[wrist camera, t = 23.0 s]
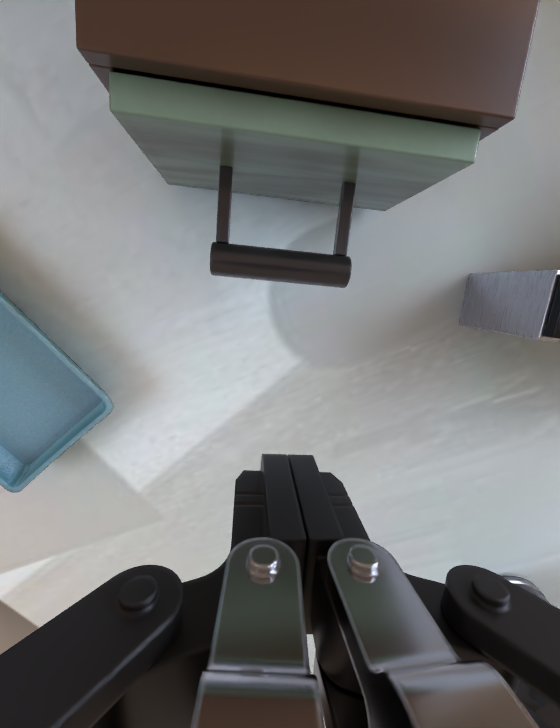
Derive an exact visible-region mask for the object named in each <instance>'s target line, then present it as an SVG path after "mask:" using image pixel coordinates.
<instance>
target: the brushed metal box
mask: <svg viewBox="0 0 560 728" xmlns="http://www.w3.org/2000/svg"><path fill="white" fill-rule="evenodd" d="M459 325H463V326H469V327H474V328H479V329H484V330H490V331H495V332H500V333H506V334H511V335H516V336H522V337H527V338H532V339H537V340H547V341H559V342H560V270H558V269H555V270H534V271H514V272H493V273H473V274H469V278H468V283H467V288H466V293H465V298H464V302H463V307H462V312H461V317H460V322H459Z"/></svg>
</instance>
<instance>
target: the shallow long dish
mask: <svg viewBox="0 0 560 728" xmlns="http://www.w3.org/2000/svg"><path fill="white" fill-rule="evenodd" d="M113 407H114V405H113V403H112V401H111V399H110V398H109V397H108V395H107V394H106V393H105V392H104V391H103V390H102V389H101V388H100V387H99V386H98V385H97V384H96V383H95V382H94V381H93V380H92V379H90V378H89V377H88V376H87V375H86V374H85V373H84V372H83V371H82V370H81V369H80V368H79V367H78V366H77V365H76V364H75V363H74V362H73V361H72V360H71V359H70V358H69V357H68V356H67V355H66V354H65V353H64V352H63V351H62V350H61V349H60V348H59V347H58V346H57V345H56V344H55V343H54V342H52V341H51V340H50V339H49V338H48V337H47V336H46V335H45V334H44V333H43V332H42V331H41V330H40V329H39V328H38V327H37V326H36V325H35V324H34V323H33V322H32V321H31V320H30V319H29V318H28V317H27V316H26V315H24V314H23V313H22V312H21V311H20V310H19V309H18V308H17V307H16V306H15V305H14V304H13V303H12V302H11V301H10V300H9V299H8V298H7V297H6V296H5V295H4V294H3V293H2V292H1V291H0V485H2V486H3V487H4V488H5V489H6V490H8V491H10V492H19V491H21V490H22V489H23V488H24V487H26V486H27V485H28V484H29V483H30V482H31V481H32V480H33V479H35V478H36V476H37V475H39V474H40V473H41V472H42V471H43V470H44V469H45V468H47V467H48V466H49V465H50V464H51V463H52V462H53V461H54V460H55V459H56V458H58V457H59V456H60V455H61V454H62V453H63V452H65V451H66V450H67V449H68V448H69V447H70V446H71V445H72V444H74V443H75V442H76V441H77V440H78V439H79V438H81V437H82V436H83V435H84V434H85V433H86V432H88V431H89V430H90V429H92V428H93V427H94V426H95V425H96V424H97V423H99V422H100V421H101V420H102V419H104V418H105V417H106V416H107V415H108V414H110V412H111V411H112V409H113Z"/></svg>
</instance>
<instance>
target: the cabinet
mask: <svg viewBox="0 0 560 728" xmlns="http://www.w3.org/2000/svg"><path fill="white" fill-rule="evenodd" d="M539 2H540V0H75V14H76V44H77V49H78V50H79V52H80V53H81V54H82V56H83V57H84V59H85V60H86V61H87V62H88V63H89V66H90V67H91V68H92V70H93V71H94V72H95V74H96V75H97V77H98V78H99V79H100V81H101V82H102V84H103V85H104V86H105V88H106V89H107V91H108V92H109V72H111V71H112V72H118V73H125V74H131V75H138V76H144V77H150V78H154V76H153V74H159V75H165V76H172V77H178V78H184V79H191V80H197V81H203V82H210V83H216V84H222V85H229V86H235V87H241V88H248V89H254V90H260V91H267V92H273V93H279V94H286V95H292V96H298V97H305V98H311V99H317V100H324V101H330V102H336V103H343V104H349V105H355V106H362V107H368V108H374V109H381V110H387V111H393V112H400V113H406V114H412V115H419V116H425V117H431V118H434V119H433V120H432V121H431V122H438V123H444V124H451V125H457V126H463V127H470V128H476V129H480V130H481V133H480V138H479V141H480V140H482V139H483V138H485V137H487V136H488V135H490V134H491V133H493V132H495V131H496V130H498V129H499V128H500V127H502V126H504V125H505V124H507V123H509V122H510V121H512V120H513V119H514V118H515V115H516V110H517V105H518V101H519V96H520V91H521V86H522V82H523V77H524V72H525V68H526V63H527V58H528V54H529V49H530V44H531V40H532V35H533V30H534V26H535V21H536V16H537V12H538V7H539ZM152 73H153V74H152Z"/></svg>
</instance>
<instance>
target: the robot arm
mask: <svg viewBox="0 0 560 728" xmlns="http://www.w3.org/2000/svg"><path fill="white" fill-rule="evenodd" d="M306 634H313V637H314V643H315V648H316V651H315V659H314V674H311V673H310V667H309V658H308V647H307V636H306ZM323 718H324V720H323ZM324 722H325V726H326V728H560V609H558V608H556V607H555V606H553V605H551V604H550V603H549V602H548V601H547V600H546V598H545V596H544V595H543V594H542V593H541V592H540V591H539V589H538V588H537V587H536V586H535V585H533V584H532V583H531V582H529V581H527V580H525V579H523V578H519V577H514V576H502V577H501V576H499V575H497V574H495V573H494V572H491V571H489V570H486V569H484V568H480V567H476V566H471V565H460V566H456V567H454V568H452V569H451V570H450V571H449V572H448V574H447V577H446V582H445V584H442V583H438V582H435V581H431V580H427V579H423V578H419V577H415V576H412V575H409V574H407V573H404V572H403V571H402V569H401V568H400V566H399V564H398V563H397V561H396V560H395V559H394V557H393V556H392V555H391V554H390V553H389V552H388V551H387V550H385V549H384V548H383V547H381V546H380V545H378V544H376V543H374V542H371V541H370V539H369V537H368V535H367V533H366V531H365V529H364V527H363V525H362V523H361V521H360V518H359V516H358V514H357V512H356V510H355V508H354V507H353V506H352V502H351V500H350V498H349V497H348V494H347V492H346V490H345V488H344V486H343V483H342V482H341V481H340V480H338V479H337V478H336V477H335V476H334V475H333V474H331V473H327V472H319V470H318V467H317V465H316V462H315V460H314V457H313V455H288V456H287V455H285V454H262V458H261V470H260V471H246V470H244V471H243V472H242V473H241V474H240V476H239V477H238V478H237V479H236V483H235V498H234V513H233V528H232V542H231V550H230V553H229V555H228V557H227V559H226V560H225V562H224V563H223V564H222V565H221V566H220V567H219V568H217V569H216V570H215V571H213V572H212V573H210V574H208V575H206V576H203V577H200V578H197V579H194V580H190V581H187V582H183V583H182V582H181V580H180V578H179V577H178V575H177V574H176V573H174V572H173V571H172V570H170V569H168V568H166V567H163V566H158V565H142V566H138V567H134V568H131V569H128V570H126V571H123V572H121V573H119V574H118V575H116V576H114V577H113V578H111V579H110V580H109V581H107V582H106V583H104V584H103V585H101V586H100V587H98V588H97V589H95V590H94V591H92V592H91V593H90V594H88V595H87V596H85V597H84V598H82V599H81V600H79V601H78V602H76V603H75V604H74V605H72V606H71V607H69V608H68V609H66V610H65V611H63V612H62V613H60V614H59V615H58V616H56V617H55V618H53V619H52V620H50V621H49V622H47V623H46V624H44V625H43V626H42V627H40V628H39V629H37V630H36V631H34V632H33V633H31V634H30V635H28V636H27V637H26V638H24V639H23V640H21V641H20V642H18V643H17V644H15V645H14V646H12V647H11V648H9V649H8V650H7V651H5V652H4V653H2V654H1V655H0V728H324Z"/></svg>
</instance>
